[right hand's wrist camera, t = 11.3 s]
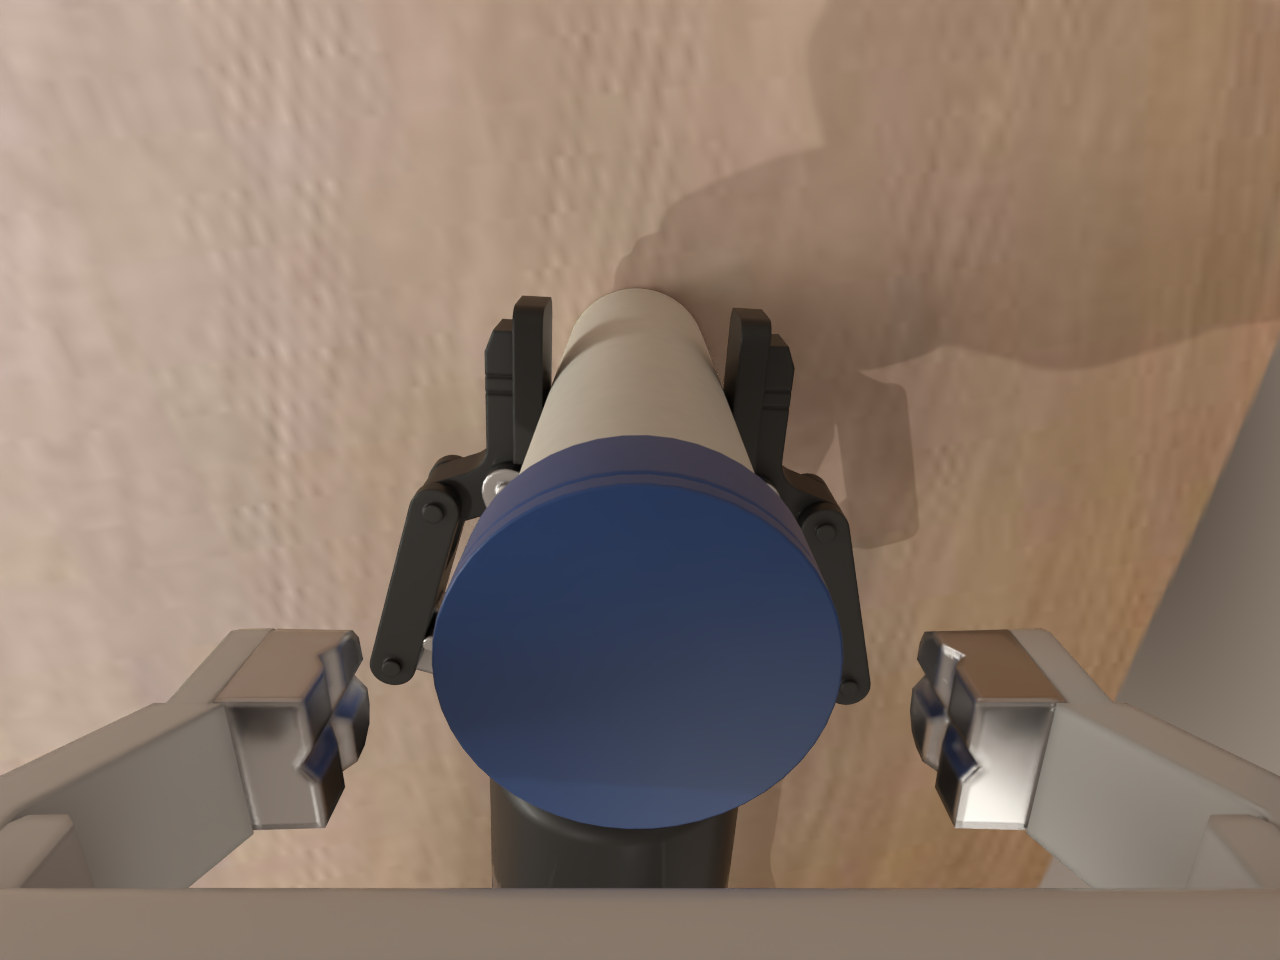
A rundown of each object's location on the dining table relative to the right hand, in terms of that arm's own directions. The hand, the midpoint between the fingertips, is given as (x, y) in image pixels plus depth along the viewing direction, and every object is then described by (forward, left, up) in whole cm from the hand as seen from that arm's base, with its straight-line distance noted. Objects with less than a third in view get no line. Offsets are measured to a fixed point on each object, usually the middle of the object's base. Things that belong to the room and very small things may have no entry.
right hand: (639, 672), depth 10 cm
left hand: (-3, +1, -10) cm, 10 cm away
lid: (0, 0, 0) cm, 0 cm away
